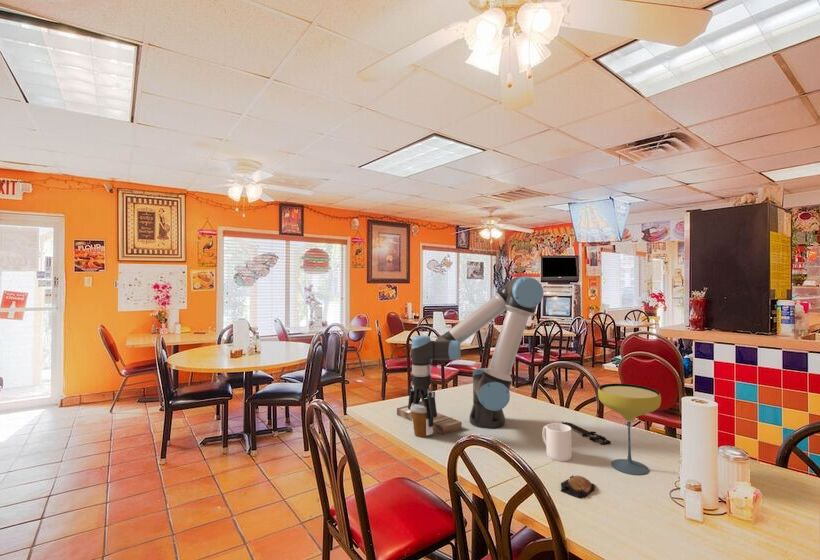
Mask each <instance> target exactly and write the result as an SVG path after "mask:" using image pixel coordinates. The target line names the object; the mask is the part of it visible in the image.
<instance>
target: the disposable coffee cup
mask: <svg viewBox="0 0 820 560" xmlns="http://www.w3.org/2000/svg"><path fill="white" fill-rule="evenodd" d="M410 409H411V411H412V418H413V425H414V429H413V433H414V436H416V437H418V438H426V437H430V435H426V418H427V414H426V413H427V409H426V407H424V403H423V401H422V400H420V402H419V403H417V404H414V403H412V404H411V407H410Z"/></svg>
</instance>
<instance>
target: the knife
mask: <svg viewBox="0 0 820 560" xmlns="http://www.w3.org/2000/svg"><path fill="white" fill-rule="evenodd" d="M561 424H565V425H568V426H570V427H571V431H574V432H577V433H579V434H580V435H582V437H586V438H587V437H589V440H590V441H592V442H594V443H596V442H600V445H601V446H606V445H611V444H612V443H611V442H612V441H610V440H608V439H607V438H606V437H605V436H602V435H601V434H597V431H589V430H588V429H584V428H582V427H580V426H578V425H577V424H575V423H572V422H566V421H561Z"/></svg>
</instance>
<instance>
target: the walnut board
mask: <svg viewBox="0 0 820 560" xmlns="http://www.w3.org/2000/svg"><path fill="white" fill-rule="evenodd" d="M396 416H399V417H401V418H403V419H406V420H408V421H410V422H412V412H411V410H410V409H408V405H405V406H400V407H397V408H396ZM462 425H463V424H462V421H460V420H458V419H455V418H453V417H451V416H447V415H444V414H442V413H439V412H437V417H435V418H433V432H436V433H439V434H440V435H442V436H445V435H448V434H452V433H455V432H458V431H460V430H462V428H463V427H462Z"/></svg>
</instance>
